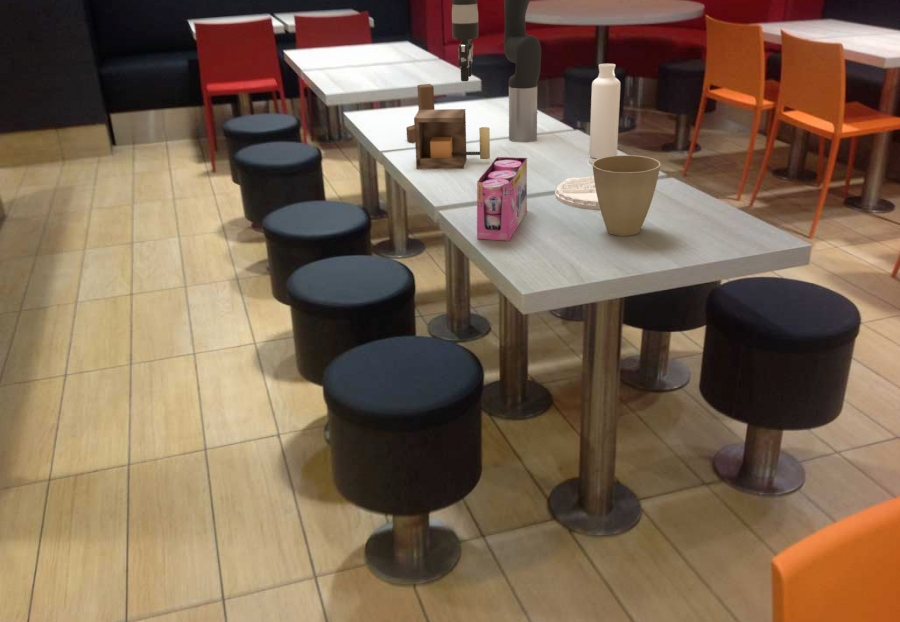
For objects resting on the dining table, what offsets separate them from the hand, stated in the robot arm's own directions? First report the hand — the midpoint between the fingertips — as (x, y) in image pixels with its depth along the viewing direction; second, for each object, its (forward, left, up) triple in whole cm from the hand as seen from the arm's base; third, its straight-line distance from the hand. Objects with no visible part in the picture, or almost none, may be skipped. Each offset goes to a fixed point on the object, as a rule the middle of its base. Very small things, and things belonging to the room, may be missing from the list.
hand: (466, 78), depth 245 cm
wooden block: (+18, -26, -24) cm, 39 cm away
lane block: (+2, +4, -23) cm, 23 cm away
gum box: (-13, +61, -24) cm, 67 cm away
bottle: (-40, +4, -24) cm, 47 cm away
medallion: (-36, +36, -25) cm, 57 cm away
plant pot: (-40, +65, -24) cm, 81 cm away
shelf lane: (+8, +4, -24) cm, 26 cm away
